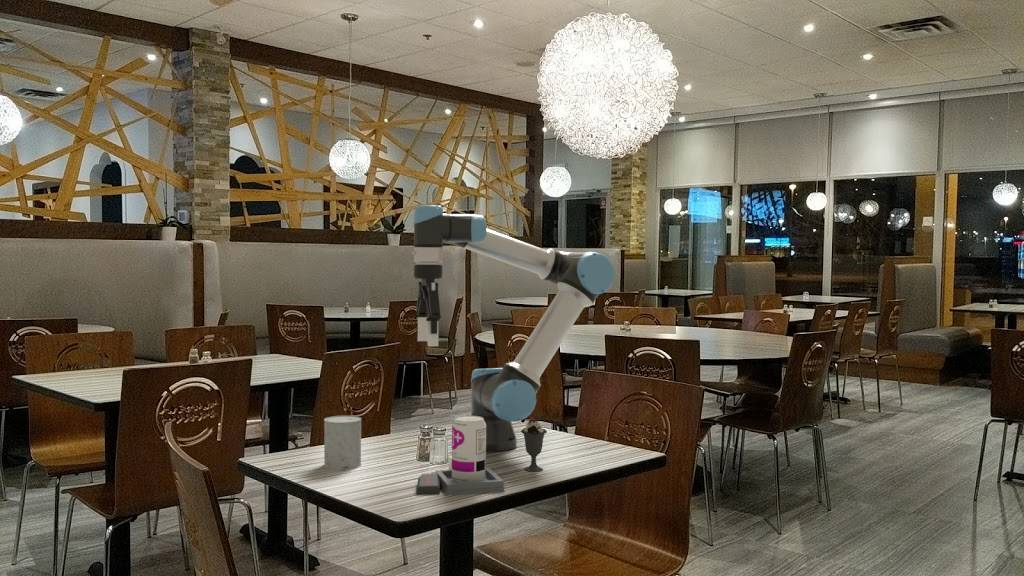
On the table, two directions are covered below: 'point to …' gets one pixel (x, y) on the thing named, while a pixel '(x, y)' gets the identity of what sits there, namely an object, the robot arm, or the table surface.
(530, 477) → the table surface
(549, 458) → the table surface
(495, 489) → the charging dock
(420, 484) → the dark grey rounded block
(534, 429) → the sundae
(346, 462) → the gray cylinder
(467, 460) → the supplement can
